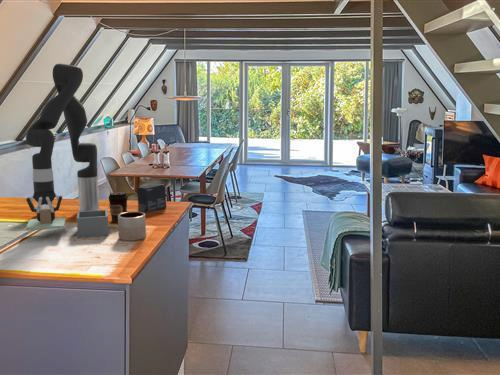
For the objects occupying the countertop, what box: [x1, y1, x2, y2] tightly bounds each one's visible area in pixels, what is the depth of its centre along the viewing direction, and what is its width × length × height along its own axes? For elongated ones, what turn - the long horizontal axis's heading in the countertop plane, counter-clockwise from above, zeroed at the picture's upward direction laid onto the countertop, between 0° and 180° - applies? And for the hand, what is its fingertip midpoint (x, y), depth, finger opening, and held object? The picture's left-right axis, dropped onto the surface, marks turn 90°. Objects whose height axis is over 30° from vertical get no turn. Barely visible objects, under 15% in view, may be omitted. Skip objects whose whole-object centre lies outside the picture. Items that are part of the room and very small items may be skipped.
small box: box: [136, 182, 167, 213], centre depth 252 cm, size 13×7×12 cm, turn 144°
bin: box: [76, 209, 110, 239], centre depth 211 cm, size 12×12×8 cm
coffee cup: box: [108, 191, 129, 223], centre depth 228 cm, size 9×8×13 cm
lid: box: [25, 209, 67, 232], centre depth 205 cm, size 14×14×7 cm
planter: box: [117, 210, 147, 242], centre depth 204 cm, size 11×11×10 cm
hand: (46, 221), depth 205 cm, fingers closed on lid, 4 cm apart
